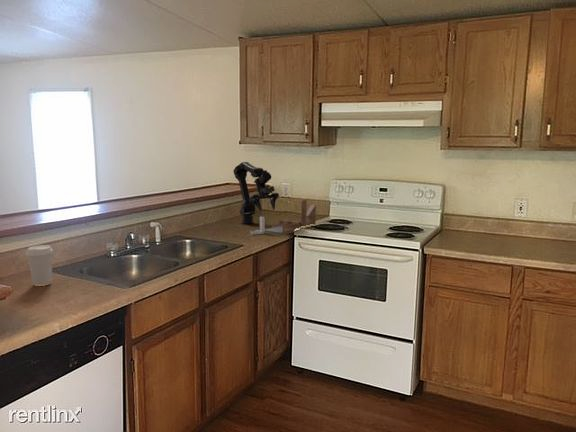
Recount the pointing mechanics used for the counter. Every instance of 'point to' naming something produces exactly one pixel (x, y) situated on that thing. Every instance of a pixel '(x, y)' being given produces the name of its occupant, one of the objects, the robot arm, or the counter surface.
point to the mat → (277, 230)
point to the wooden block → (307, 213)
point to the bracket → (262, 227)
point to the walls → (289, 225)
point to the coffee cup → (40, 263)
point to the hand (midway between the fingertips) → (267, 210)
